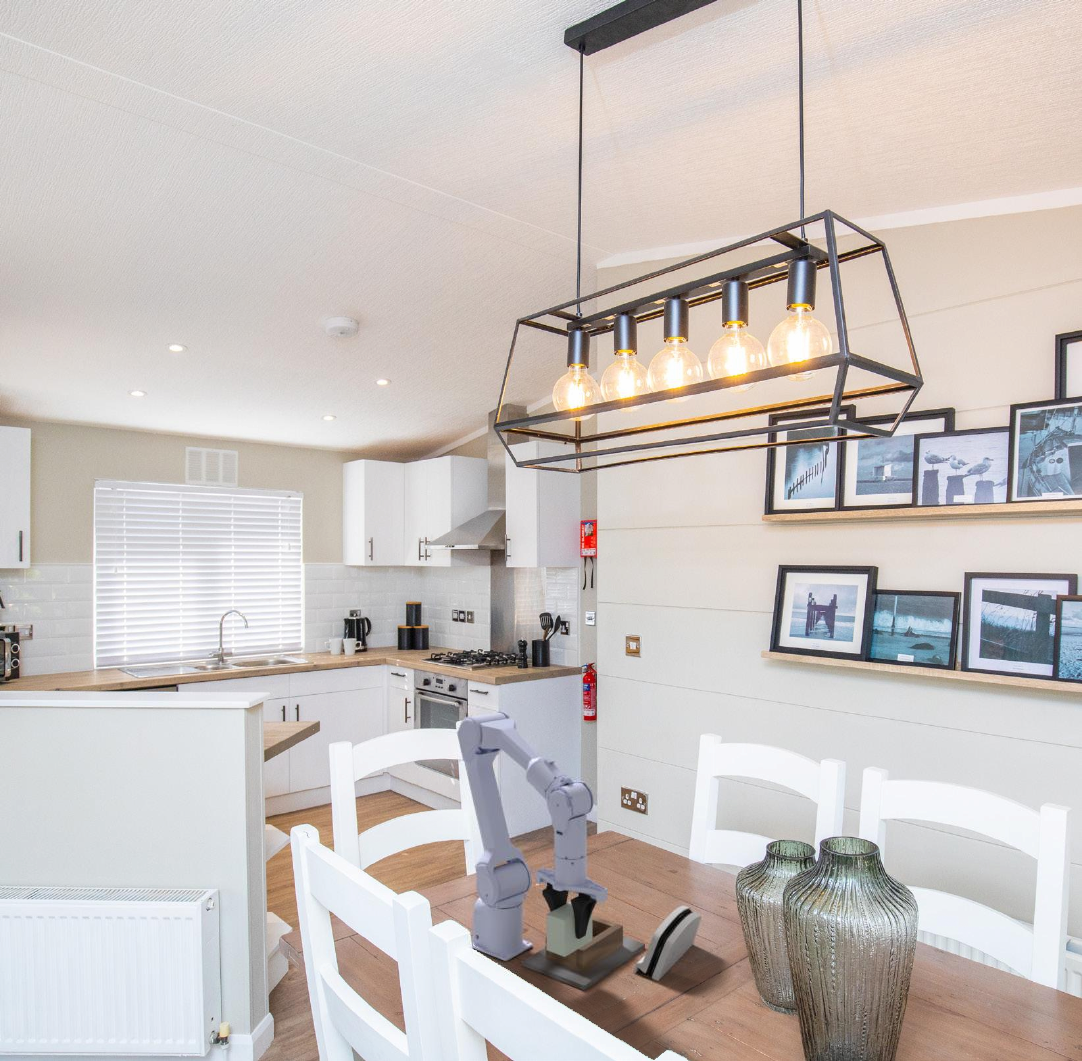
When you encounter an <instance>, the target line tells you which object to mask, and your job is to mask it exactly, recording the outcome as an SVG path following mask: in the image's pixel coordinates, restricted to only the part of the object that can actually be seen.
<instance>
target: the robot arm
mask: <svg viewBox="0 0 1082 1061" xmlns="http://www.w3.org/2000/svg"><path fill="white" fill-rule="evenodd" d="M456 734H457V739H458V743H459V748H460V752H461V755H462V756H461V757H462V761H463V762H464V767H465V770H466V775H467V779H468V785H469V788H470V789H469V790H470V793H471V798H472V802H473V806H474V812H475V815H476V820H477V825H478V829H479V834H480V837H481V838H480V839H481V843H482V846H483V851H484V852H483V853H482V855H481V856H480V857H479V860H478V861H477V862H476V864H475V866H474V867H475V873H476V881H475V882H476V883H475V885H476V887H475V888H476V892H477V895H478V897H479V898H477V900H476V901H475V904H474V906H473V911H472V943H473V948H472V949H474V950H477V951H479V952H482V953H485V954H486V955H489V956H492V957H495V958H497V959H499V960H502V961H504V962H507V961H510V960H511V959H512V958H514V957H517V956H519V955H520V954H522V953H524V952H525V951H526V950H528V949H530V948H531V947H533V943H532V942H530V941H527V940H524V900H526V899H527V893H528V892H529V891H530V889H531V887H532V882H533V875H532V871H531V869H530V867H529V865H528V863H527V861H526V860H525V856H524V852H523V850H521V849H520V848H517V847H515V846H514V845H513V844H512V843H511V838H510V833H509V830H508V824H507V822H506V821H507V820H506V817H505V813H504V812H505V811H504V809H503V803H502V800H501V797H500V790H499V787H498V782H497V778H496V775H495V770H494V767H493V765H494V761H495V760H496V757H497V756H498V755H500V753H501V752H502V751H503V752H504V753H505V754H506V755H507V756H508V757H510V758H511V759H512V760H513V761H515V762H516V763H517V764H518V765H519V766H520V767H521V768H523V770H525V771H526V772H525V776H526V777H525V778H526V781H527V782H528V783H529V784H530V785H531V786H532V787H533V789H535V790H536V792H537V793H538V794H540V795H541V796H542V797H543V799H544V800H545V801H546V806H547V811H548V812H549V815H550V817H551V826H552V828H553V830H554V831H553V832H554V835H553V836H554V838H553V840H554V841H553V842H554V843H553V845H554V846H553V847H554V848H553V849H554V850H553V852H554V854H553V855H554V857H553V858H554V859H553V860H554V862H553V865H554V866H553V868H554V869H546V868H545V867H544V868H543V867H542V868H540V869H537V870H535V876H534V877H535V880H534V882H536V883H539V884H541V883H544V884H546V887H545V888H543V889H542V892H541V893H542V894H541V895H542V896H543V898H544V900H545V902H546V904H547V906H548V908H549V911H550V912H552V911H554V910H556V909H558V908H560V907H561V906H563V905H565V904H567V903H568V897H569V893H570V892H572V893H575V894H578V896H575V897H573V898H571V899H570V902H571V904H572V907H573V912H574V918H575V935H576V938H577V939H581V938H582V937H584V936H586V932H587V927H588V923H589V920H590V916H591V914H592V915H593V911H594V909H595V906H596V905H597V903H599V904H602V903H604V902H605V901H607V900H608V887H604V886H602V885H600V884H599V883H597V882H595V881H593V880H592V879H591V878H589V877H587V874H588V873H587V871H588V870H587V868H588V866H587V864H588V863H587V861H588V859H587V856H588V855H587V850H588V848H587V846H588V844H587V842H588V841H587V838H588V836H587V834H588V833H587V831H588V830H587V827H588V824H587V822H588V820H587V817H588V816H587V815H588V814H589V813H591V812H592V810H593V807H594V802H595V800H594V794H593V792H592V789H591V788H590V787H589V786H588V785H587V783H586V782H585V781H582V780H575V778H574V779H573V778H572V779H571V777H570V776H569V775H567V774H566V772H564V771H563V770H562V769H561V767H559V766H558V765H557V764H556V763H555V760H554V759H553V758H552V757H548V756H541V757H540V756H539V755H538V754H537V753H536V751H535V750H534V749H533V747H531V745H530V744H529V743H528V742H527V741H526V740H525V739H524V738H523V736H522V735H521V733H519V732H518V730H517V723H516V721H515V720H514V719H513V718H511V716H510V714H508V713H507V712H506V711H498V712H496V713H487V714H483V715H476V716H466V717H464V718H463V719H462V721H461V723H460V725H459V727H458V730H457V732H456ZM502 863H503V864H502ZM498 864H500V865H498ZM550 912H549V913H550ZM474 944H475V945H474Z"/></svg>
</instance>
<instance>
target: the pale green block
mask: <svg viewBox="0 0 1082 1061" xmlns="http://www.w3.org/2000/svg"><path fill="white" fill-rule="evenodd" d="M592 916H593V913H592V914H591V916H590V920H589V923H588V927H587V932H586V936H584V937H582V938H581V939H577V938H576V935H575V918H574V912H573V907H572V904H571V901H569V902H567V904H565V905H563V906H561V907H560V908H558V909H556V910H554V911H552V912H548V913H547V914H546V937H547V950H548V951H551V952H553V953H556V954H558V955H561V956H563V957H566V956H567V955H569V954H571V953H572V952H574V951H575V950H577V949H579V948H580V947H582V946H584V945H585V944H587V943H588V942H590V941H592Z"/></svg>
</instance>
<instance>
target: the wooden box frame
mask: <svg viewBox="0 0 1082 1061" xmlns="http://www.w3.org/2000/svg"><path fill="white" fill-rule="evenodd" d="M645 949H646V943H644V942H641V941H639V940H636V939H632V938H630V937H627V936H624V925H621V924H620V923H616V922H613V921H610V920H608V919H607V920H606V919H604V918H601V917H598V916H594V915H592V941H590V942H588V943H587V944H585V945H584V946H582V947H580V948H579V949H577V950H575V951H574V952H572V953H571V954H569V955H567V956H566V957H563V956H561V955H558V954H556V953H553V952H551V951H548V950H547V936H545V947H543V948H542V949H540V950H538V951H537V952H535V953H533V954H532V955H530V956H528V957H527V958H525V959H523V960H521V966H523V967H525V968H527V969H530V970H532V971H534V972H537V973H539V974H542V975H544V976H547V977H550V978H552V979H555V980H557V981H559V982H562V983H565V984H567V985H569V986H573V987H575V988H576V989H577V988H578V989H580V990H581V991H586V990H587V989H589V988H590V987H591V986H593V985H594V984H596V983H598V982H599V981H600V980H602V979H603V978H605V977H606V976H608V975H609V974H610V973H611V972H613V971H614V970H616V969H617V968H619V967H621V965H623V964H624V963H625V962H628V961H629V960H630V959H631V958H633V957H634V956H636V955H637V954H639V953H641V951H643V950H645Z"/></svg>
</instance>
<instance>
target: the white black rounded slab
mask: <svg viewBox="0 0 1082 1061" xmlns="http://www.w3.org/2000/svg"><path fill="white" fill-rule="evenodd" d="M701 921H702V916H701V915H700V914H699V913H698V912H697V911H692V910H691V907H689V906H687V905H680V906H678V907H677V908H675V909H674V910H673V911H672V912H671V913H670V914H668V916H666V918H664V920H663V922H661V923H660V925H659V926H658V927H657V929H656V930H655V932H654V933H653V935H652V937H651V940H650V943H649V945H648V949H647V951H646V952H645V955H643V957H641V959H639V960H638V962H636V963H635V965H634V968H633V970H632V971H633V972H632V973H633V974H636V973H637V972H638V971H642V972H643V973H644V974H646V973H648V974H649V973H650V972H651V973H650V976H651V979H653V980H655V981H659V980H660V979H661V978H663V976H664V975H666V973H667V972H668V971H669V970H670V969H671V968H672V967H673V966H674V965H675V964H676V963H677V962H678V961H679V960H680V959H681V957H683V955H685V953H686V952H688V950H689V949H690V948H691V947H692V946H693V945H694V942H695V938H696V936H697V933H698V929H699V926H700V922H701Z"/></svg>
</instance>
